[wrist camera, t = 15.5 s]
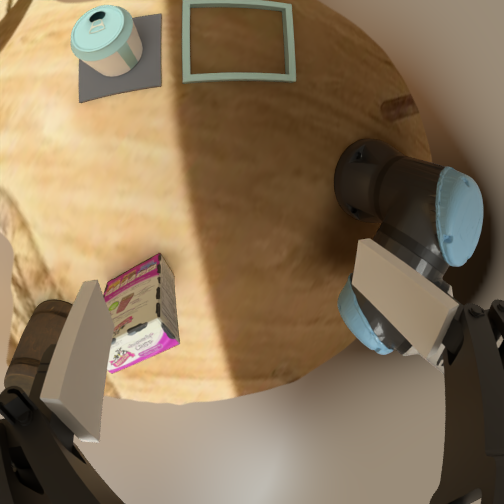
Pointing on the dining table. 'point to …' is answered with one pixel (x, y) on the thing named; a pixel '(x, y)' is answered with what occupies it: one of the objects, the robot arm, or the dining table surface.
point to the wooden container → (36, 343)
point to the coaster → (138, 76)
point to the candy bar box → (142, 313)
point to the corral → (241, 2)
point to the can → (107, 40)
